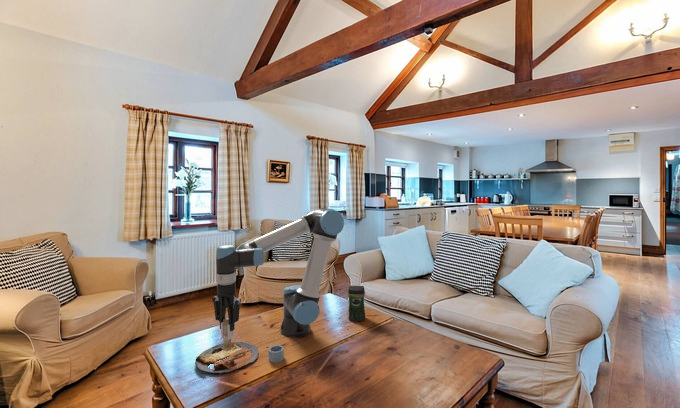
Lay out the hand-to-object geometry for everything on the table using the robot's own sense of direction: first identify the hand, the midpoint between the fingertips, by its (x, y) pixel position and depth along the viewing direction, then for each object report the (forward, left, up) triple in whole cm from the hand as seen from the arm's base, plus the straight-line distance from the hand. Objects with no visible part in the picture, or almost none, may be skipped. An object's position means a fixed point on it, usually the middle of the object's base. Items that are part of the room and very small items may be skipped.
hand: (227, 337), depth 133 cm
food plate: (0, 0, -10) cm, 10 cm away
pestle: (0, 0, -5) cm, 5 cm away
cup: (-6, +20, -10) cm, 23 cm away
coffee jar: (-58, +40, -10) cm, 71 cm away
